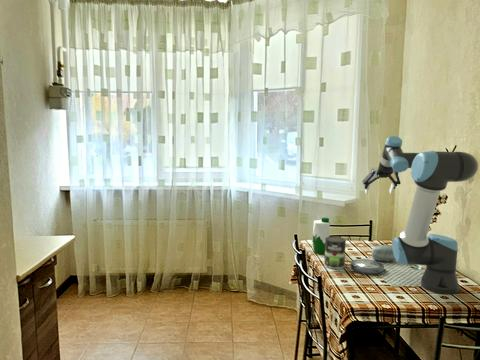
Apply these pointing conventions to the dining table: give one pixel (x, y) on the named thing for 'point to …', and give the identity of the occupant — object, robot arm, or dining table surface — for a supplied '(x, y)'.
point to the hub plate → (367, 267)
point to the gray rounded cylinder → (383, 253)
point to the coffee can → (335, 252)
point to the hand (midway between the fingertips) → (378, 192)
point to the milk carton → (320, 235)
